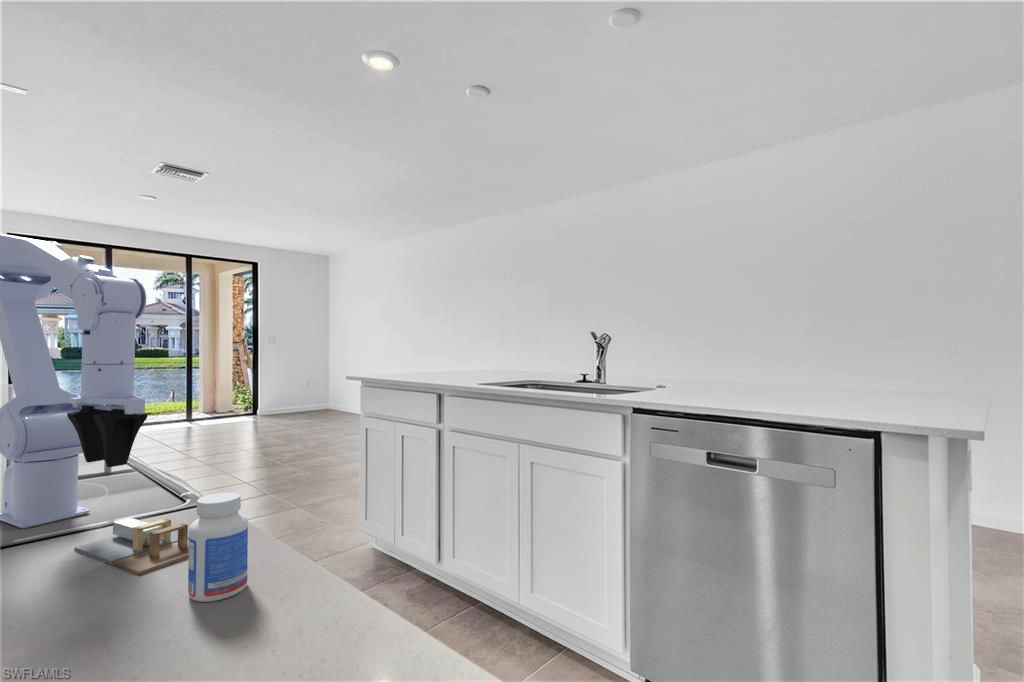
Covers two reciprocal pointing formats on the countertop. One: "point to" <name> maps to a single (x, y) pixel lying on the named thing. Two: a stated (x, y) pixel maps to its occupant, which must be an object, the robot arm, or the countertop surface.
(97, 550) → the door
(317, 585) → the countertop surface
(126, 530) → the bolt
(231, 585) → the pill bottle
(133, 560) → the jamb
